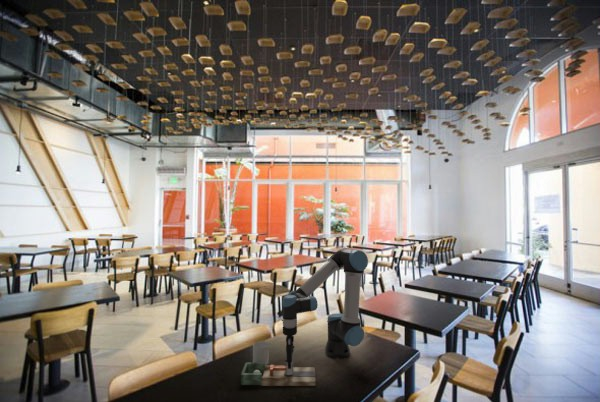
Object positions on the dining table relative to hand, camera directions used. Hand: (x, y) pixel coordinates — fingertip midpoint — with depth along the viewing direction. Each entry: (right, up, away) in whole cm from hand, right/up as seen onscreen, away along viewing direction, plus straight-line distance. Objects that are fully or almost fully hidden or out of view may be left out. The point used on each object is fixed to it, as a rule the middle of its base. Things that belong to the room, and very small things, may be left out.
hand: (290, 367), depth 152 cm
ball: (-18, -4, 0) cm, 18 cm away
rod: (-4, -3, 0) cm, 5 cm away
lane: (-6, -5, 0) cm, 8 cm away
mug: (-18, -7, +16) cm, 25 cm away
